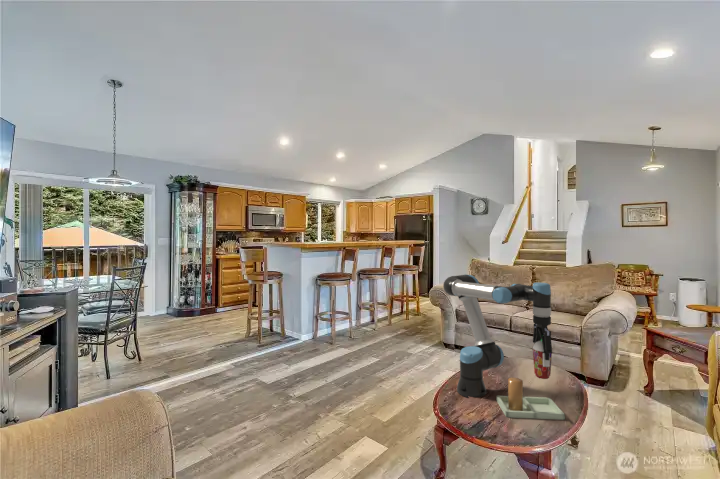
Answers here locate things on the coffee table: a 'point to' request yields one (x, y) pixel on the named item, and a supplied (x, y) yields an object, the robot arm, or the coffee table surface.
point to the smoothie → (540, 361)
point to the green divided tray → (533, 408)
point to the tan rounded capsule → (515, 394)
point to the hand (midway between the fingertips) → (542, 362)
